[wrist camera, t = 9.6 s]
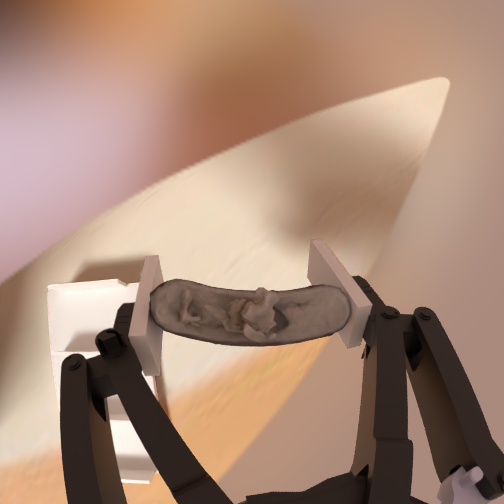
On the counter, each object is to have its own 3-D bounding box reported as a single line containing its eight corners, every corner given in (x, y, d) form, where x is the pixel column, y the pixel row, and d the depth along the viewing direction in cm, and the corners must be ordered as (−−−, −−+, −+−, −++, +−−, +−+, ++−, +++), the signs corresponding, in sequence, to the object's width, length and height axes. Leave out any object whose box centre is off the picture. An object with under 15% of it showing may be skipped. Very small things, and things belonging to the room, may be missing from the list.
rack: (77, 462, 25) (63, 474, 21) (51, 291, 31) (34, 286, 27) (173, 468, 27) (167, 483, 23) (145, 284, 33) (135, 277, 29)
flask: (301, 303, 22) (370, 275, 12) (301, 343, 21) (373, 347, 11) (174, 300, 21) (134, 267, 11) (173, 341, 20) (130, 346, 10)
